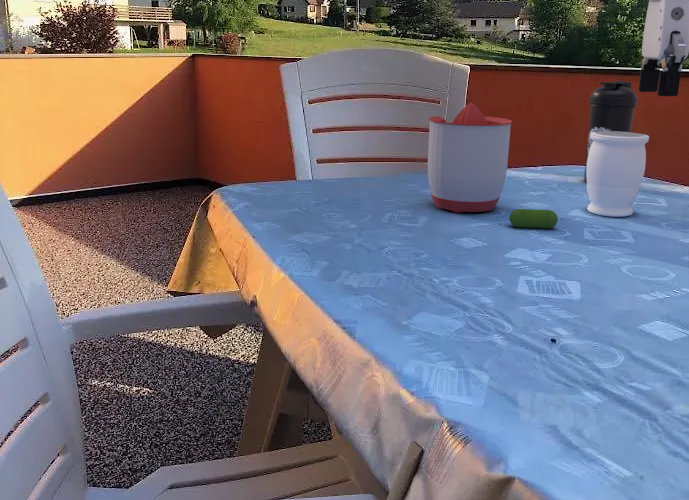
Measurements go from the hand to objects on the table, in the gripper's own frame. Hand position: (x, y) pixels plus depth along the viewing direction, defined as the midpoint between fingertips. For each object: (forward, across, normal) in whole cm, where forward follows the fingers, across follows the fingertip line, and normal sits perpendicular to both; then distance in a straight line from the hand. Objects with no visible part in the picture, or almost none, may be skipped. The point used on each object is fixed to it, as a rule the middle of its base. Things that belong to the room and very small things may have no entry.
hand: (657, 93), depth 124 cm
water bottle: (+23, +36, -3) cm, 43 cm away
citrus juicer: (+22, +6, +32) cm, 40 cm away
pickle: (+22, -9, +22) cm, 32 cm away
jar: (+23, +5, +4) cm, 24 cm away
